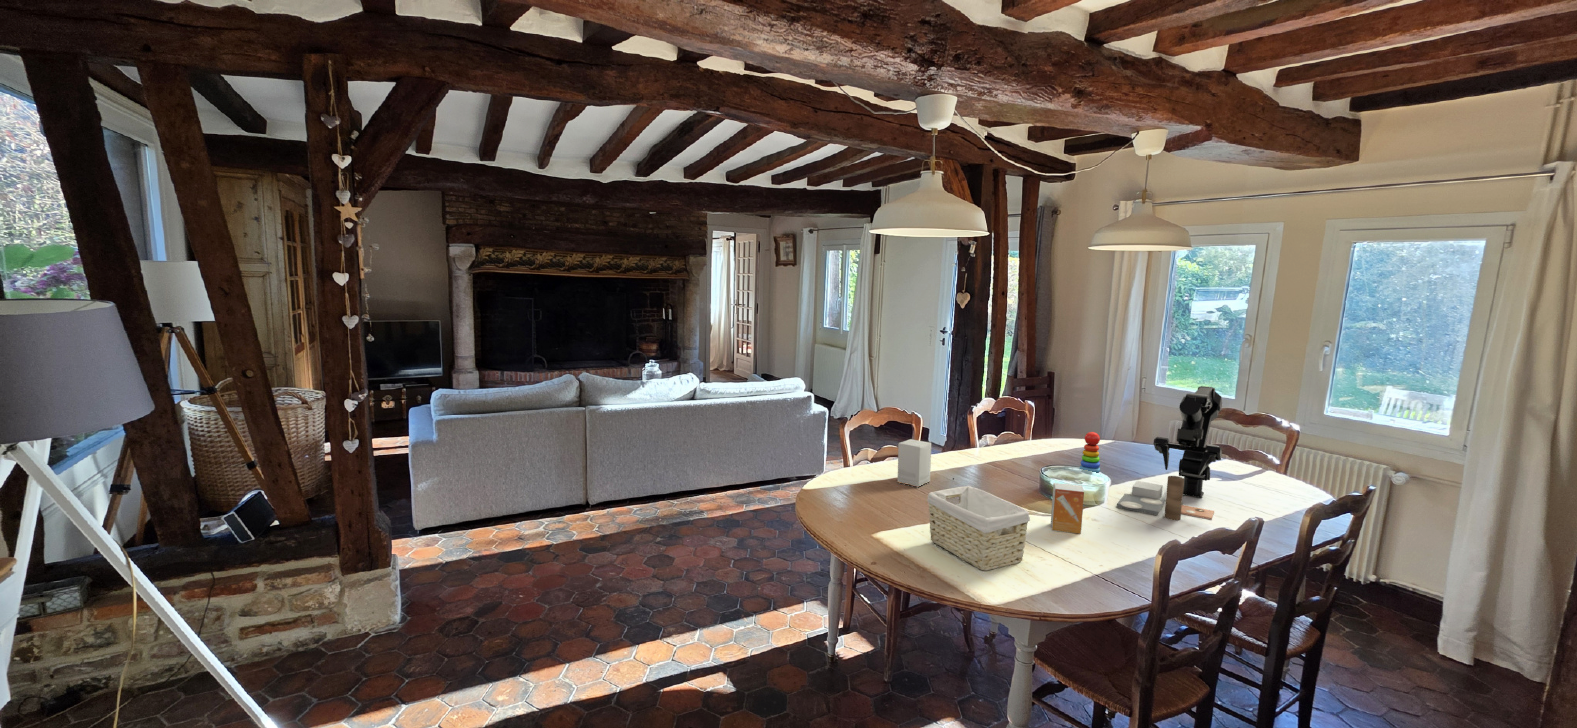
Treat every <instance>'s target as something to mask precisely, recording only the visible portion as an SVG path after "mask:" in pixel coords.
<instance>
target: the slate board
mask: <svg viewBox="0 0 1577 728" xmlns="http://www.w3.org/2000/svg"><path fill="white" fill-rule="evenodd" d="M1164 505H1165V500H1161V499H1160V500H1157V499H1153V498H1145V497H1140V496H1134V495H1132V494H1128V493H1124V494H1123V496H1122V497H1121V498H1120V499H1119V500H1118V501H1117V502H1116V508H1118V509H1124V510H1129V511H1132V512H1133V511H1134V512H1137V513H1144V514H1149V515H1153V516H1159V515H1160V513H1161V510H1162V509H1163V507H1165V506H1164Z"/></svg>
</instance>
